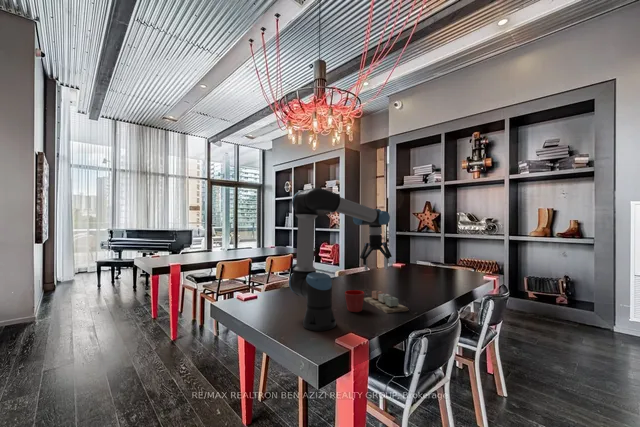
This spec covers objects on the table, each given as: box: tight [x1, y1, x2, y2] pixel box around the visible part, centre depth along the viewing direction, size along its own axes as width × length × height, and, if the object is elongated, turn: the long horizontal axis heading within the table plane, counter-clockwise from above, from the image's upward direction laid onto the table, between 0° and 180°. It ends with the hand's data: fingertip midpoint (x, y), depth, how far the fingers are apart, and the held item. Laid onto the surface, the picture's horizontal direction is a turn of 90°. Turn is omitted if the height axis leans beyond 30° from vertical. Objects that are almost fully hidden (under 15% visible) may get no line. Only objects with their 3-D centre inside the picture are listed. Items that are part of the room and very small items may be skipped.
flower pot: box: [344, 289, 365, 313], centre depth 155 cm, size 11×11×10 cm
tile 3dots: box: [371, 290, 384, 299], centre depth 171 cm, size 5×5×4 cm
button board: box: [363, 296, 409, 314], centre depth 164 cm, size 27×13×2 cm, turn 17°
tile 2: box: [385, 296, 399, 306], centre depth 156 cm, size 5×5×4 cm
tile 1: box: [377, 293, 392, 303], centre depth 164 cm, size 5×5×4 cm
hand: (376, 269), depth 172 cm, fingers open, 13 cm apart
